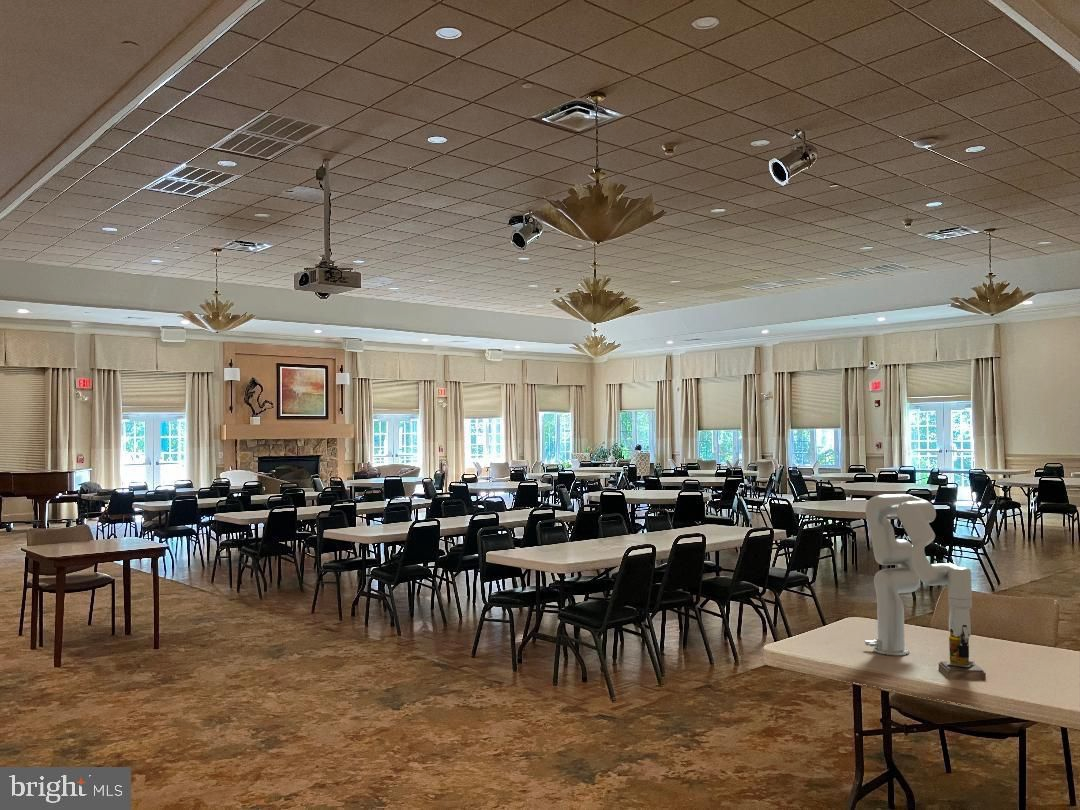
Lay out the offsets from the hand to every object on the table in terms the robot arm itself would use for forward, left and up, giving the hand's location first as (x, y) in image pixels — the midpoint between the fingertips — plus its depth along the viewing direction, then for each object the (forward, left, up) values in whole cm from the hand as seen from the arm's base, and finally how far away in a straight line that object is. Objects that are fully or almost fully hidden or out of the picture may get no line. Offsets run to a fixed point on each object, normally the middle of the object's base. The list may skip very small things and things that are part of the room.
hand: (960, 654), depth 315 cm
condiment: (0, +1, -4) cm, 4 cm away
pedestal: (0, 0, -7) cm, 7 cm away
